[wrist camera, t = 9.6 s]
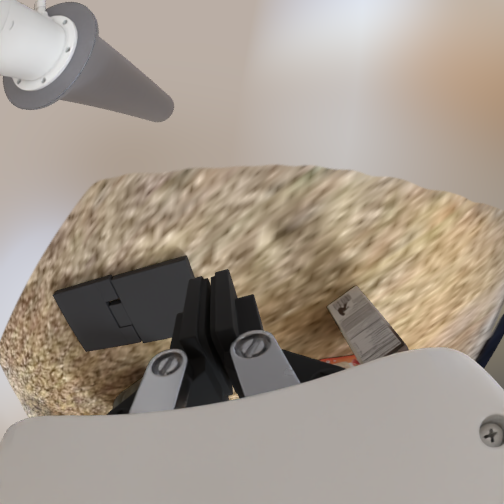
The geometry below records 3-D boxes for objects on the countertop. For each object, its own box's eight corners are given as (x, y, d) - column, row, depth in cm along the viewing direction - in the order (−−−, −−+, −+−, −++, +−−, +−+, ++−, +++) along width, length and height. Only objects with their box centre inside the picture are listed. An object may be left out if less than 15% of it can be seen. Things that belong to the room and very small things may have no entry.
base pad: (56, 290, 39) (52, 295, 38) (111, 274, 39) (108, 278, 38) (88, 346, 44) (85, 351, 42) (142, 336, 44) (141, 342, 42)
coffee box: (375, 316, 48) (421, 375, 33) (347, 337, 49) (384, 401, 34) (356, 283, 44) (408, 343, 29) (324, 306, 45) (365, 374, 30)
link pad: (101, 279, 39) (97, 284, 38) (186, 255, 39) (185, 259, 38) (132, 340, 44) (130, 345, 42) (212, 323, 44) (212, 328, 43)
